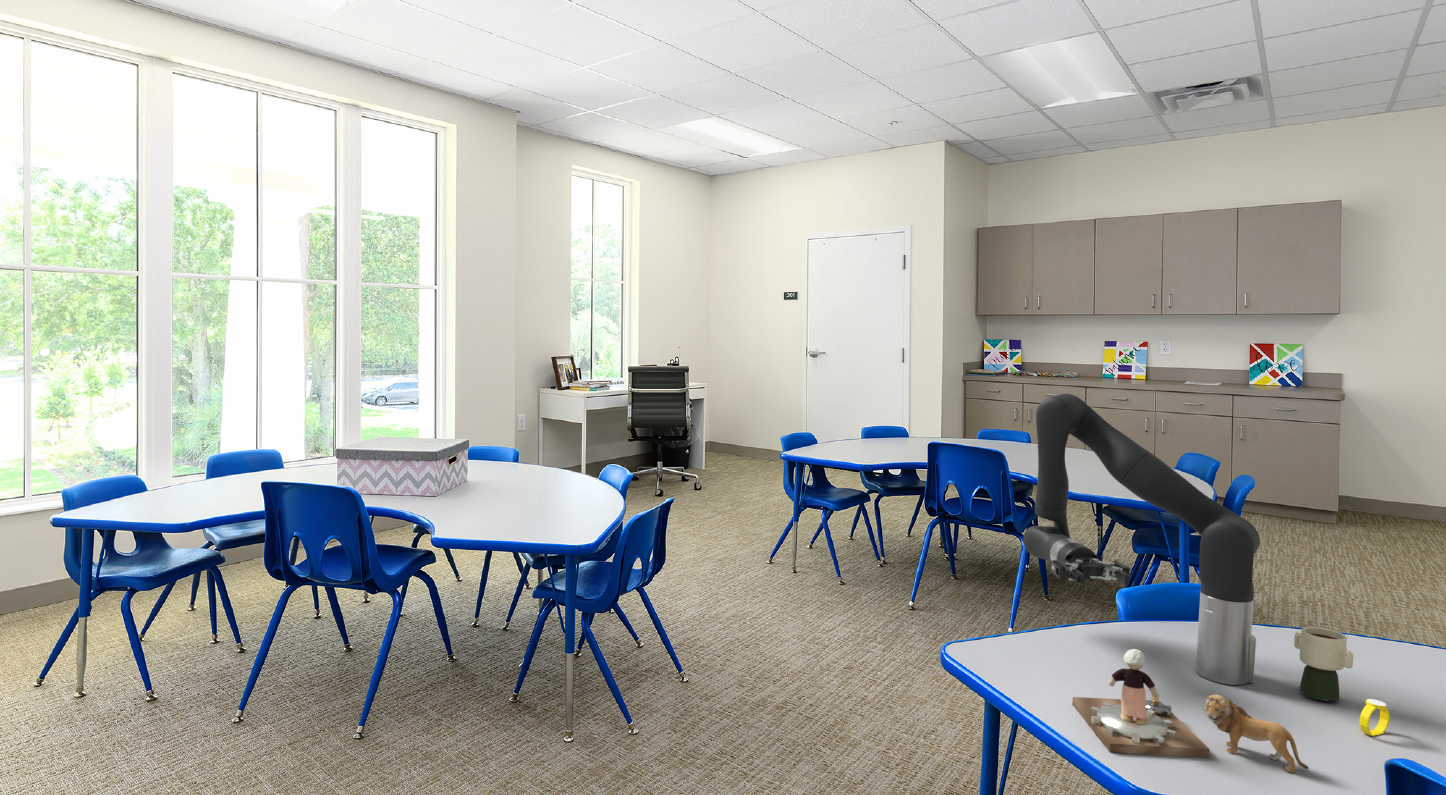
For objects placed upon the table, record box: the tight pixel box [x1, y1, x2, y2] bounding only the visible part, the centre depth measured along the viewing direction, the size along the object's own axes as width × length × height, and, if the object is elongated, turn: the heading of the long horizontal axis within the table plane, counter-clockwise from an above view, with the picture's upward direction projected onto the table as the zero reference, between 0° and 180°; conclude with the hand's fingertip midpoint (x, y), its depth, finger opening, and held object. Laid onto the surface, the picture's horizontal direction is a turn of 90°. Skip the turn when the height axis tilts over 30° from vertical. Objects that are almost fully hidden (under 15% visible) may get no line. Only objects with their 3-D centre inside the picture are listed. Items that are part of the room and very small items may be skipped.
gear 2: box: [1146, 694, 1173, 718], centre depth 141 cm, size 6×5×3 cm
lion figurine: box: [1203, 694, 1310, 774], centre depth 128 cm, size 15×5×9 cm, turn 54°
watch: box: [1358, 698, 1391, 737], centre depth 136 cm, size 6×3×6 cm, turn 110°
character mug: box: [1293, 626, 1354, 701], centre depth 150 cm, size 11×7×13 cm, turn 17°
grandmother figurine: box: [1108, 648, 1159, 725], centre depth 135 cm, size 8×4×13 cm, turn 69°
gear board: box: [1071, 696, 1210, 758], centre depth 137 cm, size 16×17×2 cm
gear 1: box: [1090, 702, 1176, 745], centre depth 135 cm, size 13×13×1 cm
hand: (1104, 580), depth 153 cm, fingers open, 8 cm apart
